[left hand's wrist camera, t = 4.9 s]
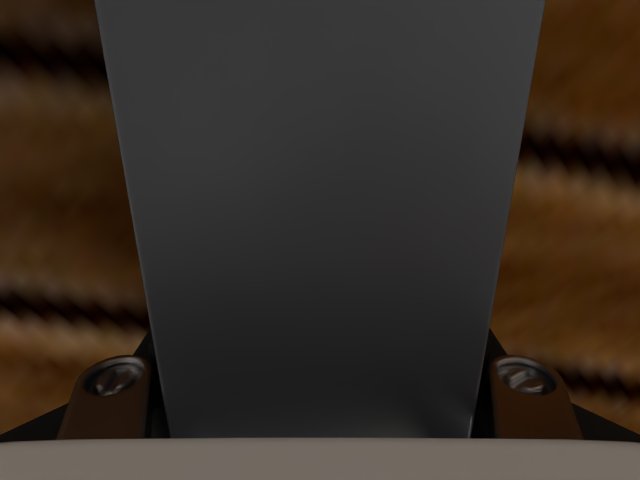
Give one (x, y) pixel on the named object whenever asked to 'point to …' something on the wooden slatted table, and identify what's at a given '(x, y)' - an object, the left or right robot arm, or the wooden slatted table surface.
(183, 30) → the post
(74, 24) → the wooden slatted table surface
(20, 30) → the wooden slatted table surface
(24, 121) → the wooden slatted table surface
